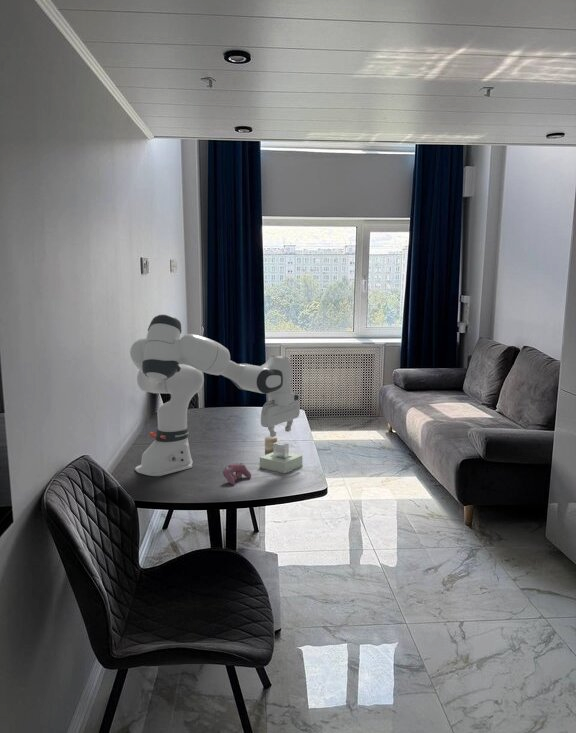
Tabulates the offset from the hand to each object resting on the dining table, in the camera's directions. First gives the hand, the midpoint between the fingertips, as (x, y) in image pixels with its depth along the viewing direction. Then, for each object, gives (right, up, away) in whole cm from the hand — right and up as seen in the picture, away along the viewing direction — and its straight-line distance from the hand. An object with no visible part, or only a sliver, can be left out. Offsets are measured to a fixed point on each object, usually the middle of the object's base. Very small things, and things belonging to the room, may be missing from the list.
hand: (280, 433), depth 224 cm
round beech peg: (-4, -11, +12) cm, 17 cm away
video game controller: (-16, -15, -13) cm, 25 cm away
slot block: (0, -13, +1) cm, 13 cm away
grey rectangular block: (0, -13, +1) cm, 13 cm away
